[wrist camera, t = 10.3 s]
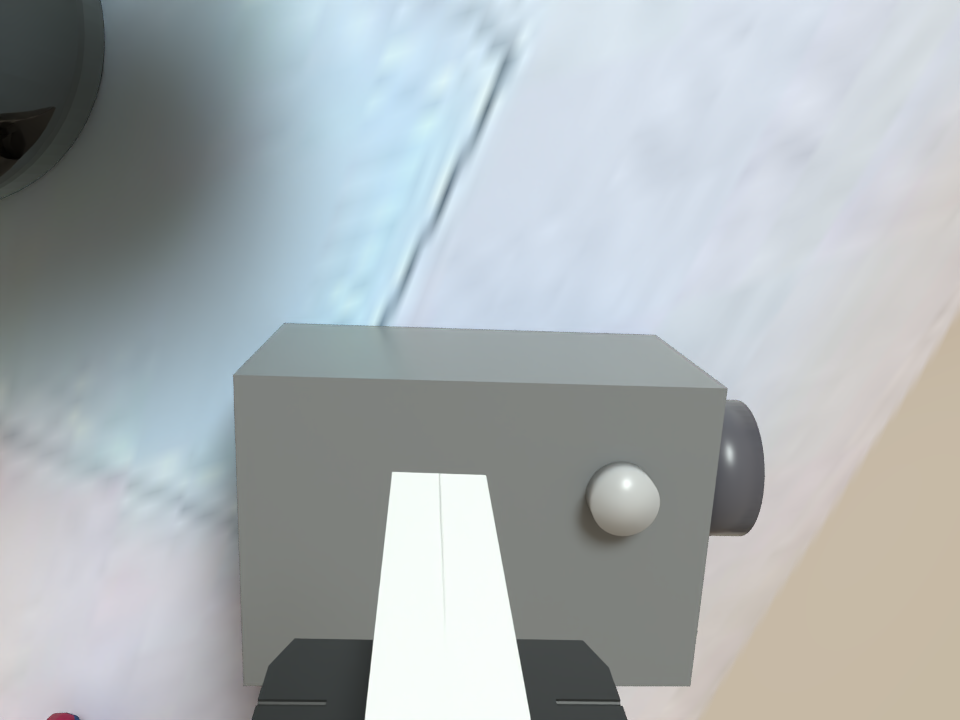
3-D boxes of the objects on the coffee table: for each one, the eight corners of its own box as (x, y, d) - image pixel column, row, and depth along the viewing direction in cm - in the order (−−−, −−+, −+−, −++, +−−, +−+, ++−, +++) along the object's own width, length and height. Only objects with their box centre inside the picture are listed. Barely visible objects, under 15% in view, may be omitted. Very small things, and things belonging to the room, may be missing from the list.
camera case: (288, 569, 37) (237, 709, 28) (284, 323, 34) (225, 382, 25) (678, 574, 39) (760, 709, 29) (706, 336, 36) (807, 398, 26)
